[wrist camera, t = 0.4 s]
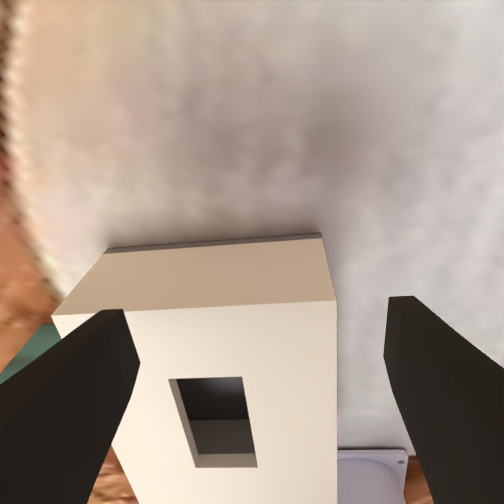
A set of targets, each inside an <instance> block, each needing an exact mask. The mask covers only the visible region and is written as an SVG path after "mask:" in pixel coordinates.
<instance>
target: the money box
mask: <svg viewBox="0 0 504 504" xmlns="http://www.w3.org/2000/svg"><path fill="white" fill-rule="evenodd" d="M105 309H123V311H124V314H125V317H126V320H127V323H128V326H129V329H130V332H131V335H132V338H133V341H134V344H135V347H136V350H137V353H138V356H139V359H140V362H141V363H140V367H139V371H138V375H137V379H136V382H135V386H134V389H133V392H132V396H131V399H130V401H129V403H128V406H127V408H126V411H125V413H124V415H123V418H122V420H121V423H120V425H119V427H118V430H117V432H116V434H115V437H114V439H113V441H112V446H113V449H114V451H115V453H116V455H117V457H118V459H119V461H120V463H121V466H122V468H123V470H124V472H125V474H126V476H127V478H128V480H129V482H130V485H131V487H132V489H133V491H134V493H135V495H136V497H137V499H138V501H139V504H337V300H336V296H335V291H334V287H333V283H332V279H331V274H330V270H329V266H328V262H327V257H326V253H325V249H324V244H323V240H322V236H321V233H315V234H302V235H288V236H275V237H261V238H248V239H234V240H220V241H207V242H193V243H180V244H166V245H153V246H139V247H125V248H112V249H107V250H106V251H105V253H104V254H103V255H102V256H101V257H100V258H99V260H98V261H97V262H96V263H95V264H94V265H93V267H92V268H91V269H90V270H89V271H88V273H87V274H86V275H85V276H84V277H83V278H82V280H81V281H80V282H79V283H78V284H77V285H76V287H75V288H74V289H73V290H72V291H71V292H70V294H69V295H68V296H67V297H66V298H65V300H64V301H63V302H62V303H61V304H60V305H59V307H58V308H57V309H56V310H55V311H54V312H53V314H52V315H51V317H52V319H53V322H54V324H55V326H56V328H57V330H58V332H59V334H60V336H61V338H62V339H63V338H64V337H65V336H66V335H68V334H69V333H70V332H72V331H73V330H74V329H76V328H77V327H78V326H80V325H81V324H82V323H84V322H85V321H86V320H88V319H89V318H90V317H92V316H93V315H95V314H96V313H98V312H99V311H101V310H105Z"/></svg>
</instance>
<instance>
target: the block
mask: <svg viewBox="0 0 504 504" xmlns="http://www.w3.org/2000/svg"><path fill="white" fill-rule="evenodd" d="M61 339H62V338H61V336H60V334H59V332H58V330H57V328H56V326H55V324H54V325H41V326H40V328H39V329H38V330H37V331H36V332H35V333H34V335H33V336H32V337H31V338H30V339H29V340H28V342H27V343H26V344H25V345H24V346H23V347H22V349H21V350H20V351H19V352H18V353H17V354H16V356H15V357H14V358H13V359H12V360H11V361H10V363H9V364H8V365H7V366H6V367H5V368H4V369H3V371H2V372H1V373H0V384H1V383H3V382H4V381H5V380H7V379H8V378H10V377H11V376H12V375H14V374H15V373H17V372H18V371H19V370H21V369H22V368H24V367H25V366H27V365H28V364H29V363H31V362H32V361H33V360H35V359H36V358H37V357H39V356H40V355H41V354H43V353H44V352H45V351H47V350H48V349H49V348H51V347H52V346H53V345H55V344H56V343H57V342H59V341H60V340H61Z"/></svg>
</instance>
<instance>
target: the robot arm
mask: <svg viewBox="0 0 504 504" xmlns="http://www.w3.org/2000/svg"><path fill="white" fill-rule="evenodd" d="M383 356H384V360H385V364H386V369H387V373H388V377H389V381H390V384H391V388H392V392H393V395H394V397H395V400H396V403H397V405H398V408H399V411H400V413H401V416H402V419H403V421H404V424H405V426H406V429H407V432H408V434H409V437H410V439H411V442H412V444H413V447H414V450H415V452H416V455H417V457H418V460H419V463H420V465H421V468H422V470H423V473H424V475H425V478H426V481H427V484H428V487H429V489H430V492H431V495H432V498H433V501H434V504H504V368H503V367H501V366H500V365H498V364H497V363H496V362H494V361H493V360H492V359H490V358H489V357H488V356H487V355H485V354H484V353H483V352H481V351H480V350H479V349H477V348H476V347H475V346H474V345H472V344H471V343H470V342H469V341H467V340H466V339H465V338H464V337H462V336H461V335H460V334H459V333H457V332H456V331H455V330H454V329H453V328H451V327H450V326H449V325H448V324H447V323H445V322H444V321H443V320H442V319H441V318H439V317H438V316H437V315H436V314H435V313H433V312H432V311H431V310H430V309H429V308H428V307H426V306H425V305H424V304H423V303H422V302H420V301H419V300H418V299H417V298H416V297H414V296H397V297H389V302H388V312H387V323H386V334H385V344H384V355H383ZM140 363H141V362H140V359H139V356H138V353H137V350H136V347H135V344H134V341H133V338H132V335H131V332H130V329H129V326H128V323H127V320H126V317H125V314H124V311H123V309H105V310H101V311H99V312H98V313H96V314H95V315H93V316H92V317H90V318H89V319H88V320H86V321H85V322H84V323H82V324H81V325H80V326H78V327H77V328H76V329H74V330H73V331H72V332H70V333H69V334H68V335H66V336H65V337H64V338H63V339H61V340H60V341H59V342H57V343H56V344H55V345H53V346H52V347H51V348H49V349H48V350H47V351H45V352H44V353H43V354H41V355H40V356H39V357H37V358H36V359H35V360H33V361H32V362H31V363H29V364H28V365H27V366H25V367H24V368H22V369H21V370H19V371H18V372H17V373H15V374H14V375H12V376H11V377H10V378H8V379H7V380H5V381H4V382H3V383H1V384H0V504H87V503H88V499H89V497H90V494H91V491H92V489H93V486H94V484H95V481H96V479H97V476H98V474H99V472H100V469H101V467H102V465H103V462H104V460H105V458H106V455H107V453H108V451H109V448H110V446H111V444H112V441H113V439H114V437H115V434H116V432H117V430H118V427H119V425H120V423H121V420H122V418H123V415H124V413H125V411H126V408H127V406H128V403H129V401H130V399H131V396H132V392H133V389H134V386H135V382H136V379H137V375H138V371H139V367H140ZM407 463H408V454H407V452H406V451H405V450H337V504H406V502H405V499H404V495H403V490H404V484H405V477H406V470H407Z"/></svg>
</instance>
